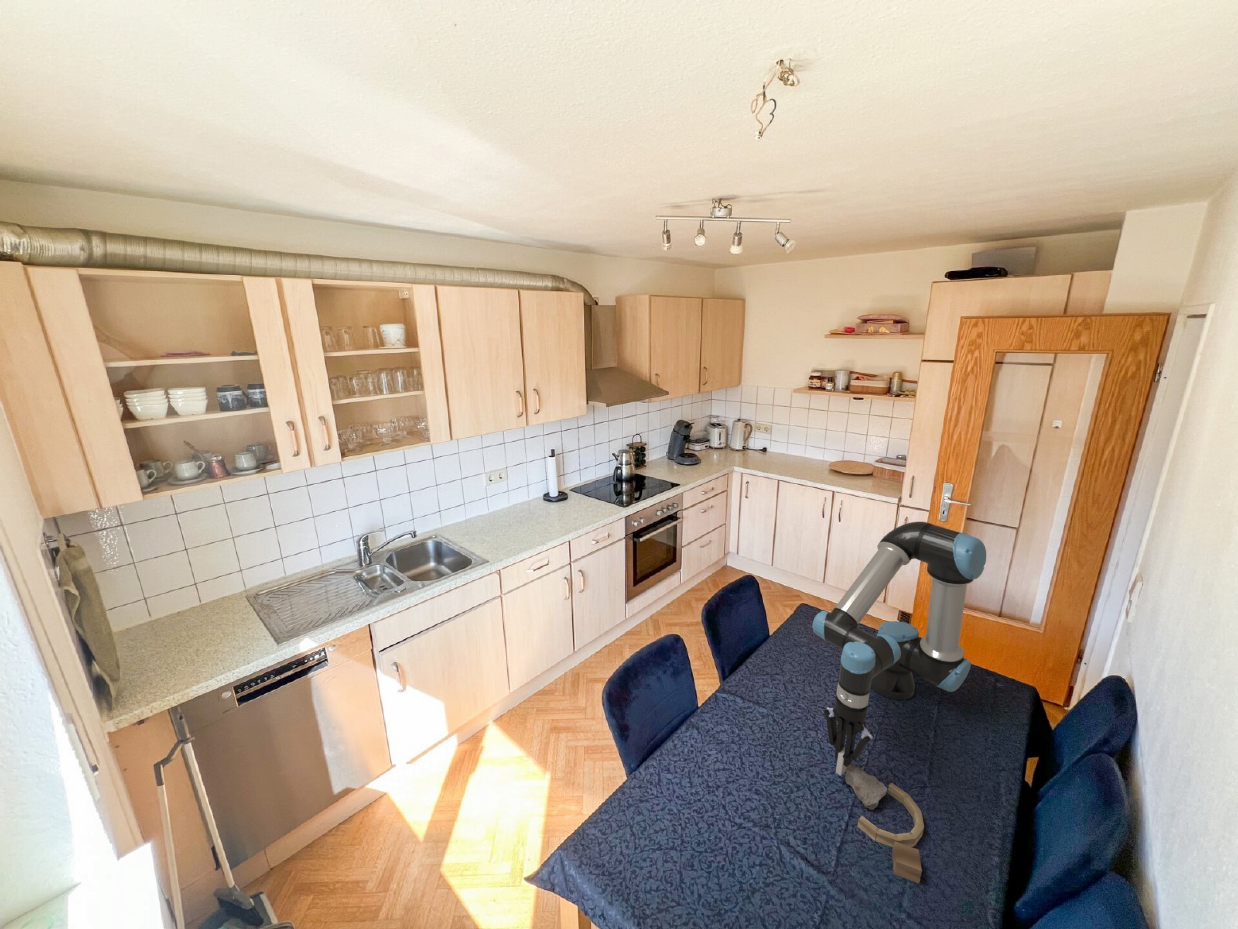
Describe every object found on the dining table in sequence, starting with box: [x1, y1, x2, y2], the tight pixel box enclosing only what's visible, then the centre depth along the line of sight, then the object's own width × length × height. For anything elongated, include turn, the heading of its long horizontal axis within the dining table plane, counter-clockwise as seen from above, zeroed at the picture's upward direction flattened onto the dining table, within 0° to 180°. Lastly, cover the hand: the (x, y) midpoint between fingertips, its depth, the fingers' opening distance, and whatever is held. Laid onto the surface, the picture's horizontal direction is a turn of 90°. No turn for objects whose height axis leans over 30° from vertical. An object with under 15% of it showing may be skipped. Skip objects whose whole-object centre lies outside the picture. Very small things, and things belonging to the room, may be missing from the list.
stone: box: [844, 764, 888, 811], centre depth 130 cm, size 8×10×6 cm
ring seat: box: [856, 782, 925, 848], centre depth 122 cm, size 17×11×2 cm, turn 127°
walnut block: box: [891, 841, 923, 884], centre depth 112 cm, size 5×5×4 cm
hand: (840, 771), depth 133 cm, fingers closed
